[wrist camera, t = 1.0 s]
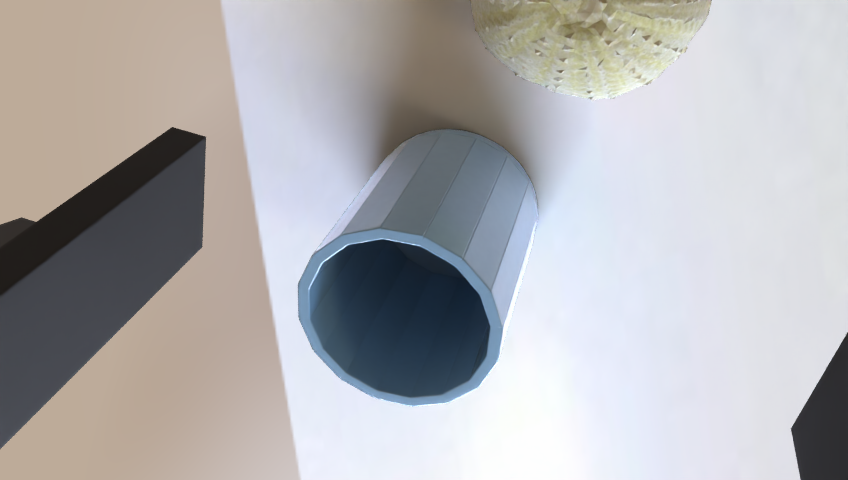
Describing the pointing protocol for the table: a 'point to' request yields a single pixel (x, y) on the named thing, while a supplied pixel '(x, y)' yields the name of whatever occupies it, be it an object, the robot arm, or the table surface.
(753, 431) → the table surface
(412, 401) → the tumbler
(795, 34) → the table surface
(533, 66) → the sea urchin shell
